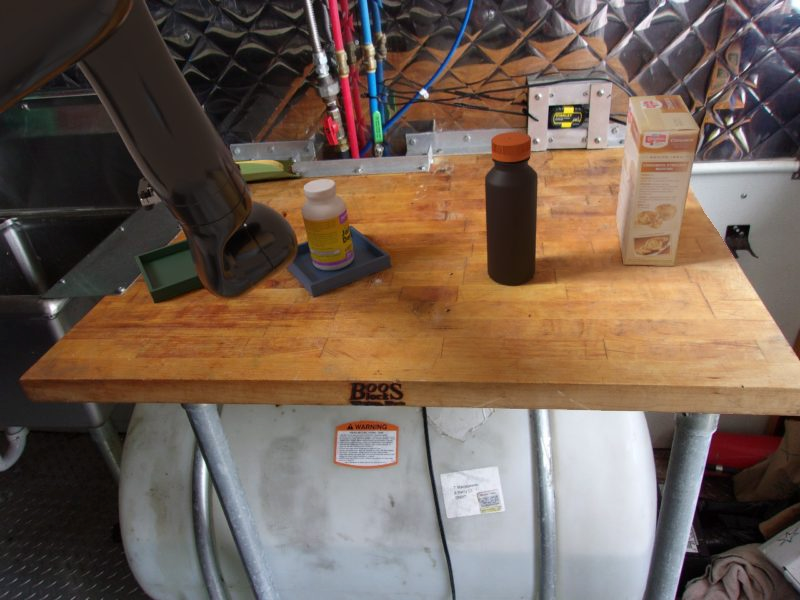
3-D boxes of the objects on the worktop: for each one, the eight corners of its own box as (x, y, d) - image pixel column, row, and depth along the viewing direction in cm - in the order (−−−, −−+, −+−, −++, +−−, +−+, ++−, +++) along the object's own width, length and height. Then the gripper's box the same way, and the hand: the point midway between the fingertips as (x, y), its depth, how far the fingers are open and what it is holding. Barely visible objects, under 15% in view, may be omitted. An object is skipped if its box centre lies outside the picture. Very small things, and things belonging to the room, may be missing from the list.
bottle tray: (313, 297, 85) (310, 285, 84) (280, 261, 95) (278, 251, 94) (391, 266, 90) (389, 255, 89) (353, 235, 100) (351, 225, 98)
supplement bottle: (353, 270, 89) (339, 192, 82) (310, 274, 89) (292, 196, 82) (356, 249, 95) (343, 174, 87) (316, 252, 95) (300, 178, 88)
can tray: (154, 303, 88) (150, 292, 87) (138, 266, 99) (134, 256, 98) (262, 264, 95) (258, 254, 94) (235, 233, 105) (233, 223, 104)
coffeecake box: (676, 267, 81) (702, 128, 70) (622, 265, 83) (638, 130, 72) (661, 217, 93) (681, 92, 82) (614, 217, 95) (627, 95, 84)
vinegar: (531, 288, 81) (534, 148, 70) (483, 284, 83) (478, 147, 72) (538, 263, 86) (542, 129, 75) (492, 259, 88) (489, 129, 77)
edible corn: (216, 179, 129) (210, 159, 126) (304, 172, 127) (299, 152, 124) (208, 189, 125) (201, 168, 122) (299, 181, 122) (294, 161, 120)
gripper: (254, 158, 73) (218, 129, 86) (136, 192, 68) (116, 156, 80) (268, 213, 77) (231, 177, 90) (158, 249, 72) (136, 205, 85)
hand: (177, 167), depth 85 cm, fingers closed on soda can, 5 cm apart
